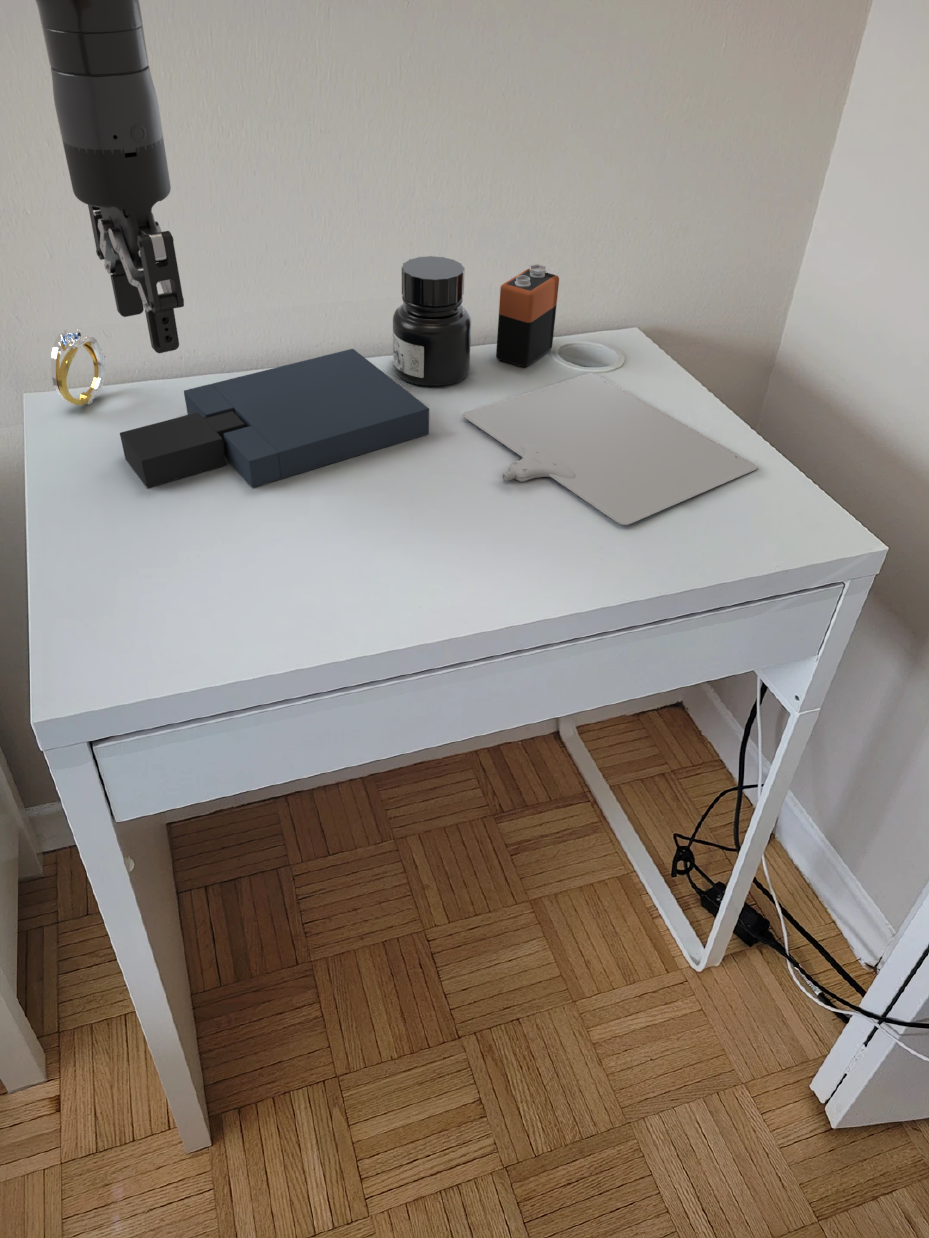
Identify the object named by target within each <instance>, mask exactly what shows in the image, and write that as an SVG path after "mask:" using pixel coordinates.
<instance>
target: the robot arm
mask: <svg viewBox="0 0 929 1238" xmlns="http://www.w3.org/2000/svg"><path fill="white" fill-rule="evenodd" d="M34 1H35V3H36V6H37V10H38V15H39V20H40V24H41V30H42V35H43V38H44V44H45V48H46V49H45V50H46V53H47V56H48V57H47V58H48V63H49V66H50V73H51V74H50V75H51V81H52V82H51V83H52V95H53V103H54V107H55V108H54V109H55V113H56V118H57V121H58V122H57V123H58V127H59V131H60V135H61V141H62V145H63V151H64V155H65V159H66V164H67V169H68V172H69V179H70V183H71V188H72V192H73V194H74V196H75V198H76V199H77V200H78V201H80V203H81V202H82V203H83V204H85V205H87V208H88V211H89V212H88V214H89V218H90V223H91V229H92V233H93V239H94V243H95V244H94V245H95V248H96V250H95V253H96V255H97V257H98V259H99V260H100V261H103V260H104V264H103V265H104V269H105V270H106V272H107V274H109V276H110V281H111V286H112V291H113V296H114V300H115V306H116V311H117V312H118V313H119V315H120V316H121V317H124V318H128V317H133V316H137V315H142V313H143V312H144V313H145V318H146V319H145V320H146V324H147V330H148V334H149V341H150V344H151V345H150V346H151V348H152V350H153V351H154V352H155V353H157V354H163V353H164V354H165V353H168V352H173V351H176V350H177V349H179V348H180V347H179V346H180V339H179V334H178V326H177V322H176V313H175V309H179V308H184V306H185V299H184V296H183V295H184V294H183V290H182V284H181V283H182V282H181V278H180V271H179V266H178V260H177V254H176V249H175V243H174V236H173V235H172V232H171V231H169V230H165V231H162V229H161V225H160V223H159V222H158V221H157V220H155V217H154V216H155V215H154V214H153V212H152V211H153V208H154V206H155V205H156V204H157V203H158V202H162V201H163V200H165V199H166V198H167V197H168V196H169V195H170V193H171V179H170V174H169V166H168V161H167V152H166V147H165V140H164V132H163V127H162V120H161V114H160V113H161V112H160V106H159V101H158V96H157V92H156V88H155V84H154V82H153V81H154V80H153V78H152V74H151V73H152V72H151V68H150V65H149V57H148V51H147V43H146V37H145V30H144V25H143V17H142V16H143V15H142V9H141V4H140V0H34ZM158 283H159V284H160V286H161V289H162V291H163V293H159V291H158V286H157V285H158Z"/></svg>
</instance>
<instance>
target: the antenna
mask: <svg viewBox="0 0 929 1238" xmlns="http://www.w3.org/2000/svg"><path fill="white" fill-rule="evenodd" d="M462 417H463V418H464V419H466V420H467V421H468V422H470V423H472V424H473V425H474V426H475V427H477V428H479V429H480V430H482V431H483V432H485V433H486V434H487V435H489V436H490V437H492V438H493V439H494V440H496V441H498V442H499V443H501V444H502V445H504V446H505V447H507V448H508V449H510V451H512V452H514V454H517V455H518V456H520V457H521V459H520V460H517V461H515V462H512V463H510V464H509V466H508V467H507V468H508V471H505V472H503V473H502V479H503V481H505V482H507V481H511V480H513V479H514V480H516V481H519V482H521V483H523V482H527V481H529V480H532V479H538V478H552V479H553V480H554V481H556V482H557V483H559V484H560V485H562V486H563V487H564V488H566V489H567V490H569V491H570V492H572V493H573V494H575V495H576V496H578V497H579V498H580V499H582V500H583V501H585V502H586V503H588V504H589V505H591V506H593V508H595V509H596V510H598V511H600V512H601V513H602V514H604V515H605V516H607V517H608V518H610V519H611V520H613V522H615V523H617V524H619V525H621V526H629V525H632V524H634V523H636V522H639V521H640V520H644V519H646V518H648V517H650V516H652V515H654V514H657V513H659V512H662V511H664V510H667V509H669V508H671V507H673V506H676V505H677V504H681V503H682V502H685V501H687V500H689V499H692V498H694V497H696V496H698V495H700V494H701V495H702V494H704V493H705V492H708V491H711V490H713V489H715V488H717V487H720V486H721V485H724V484H727V483H729V482H731V481H733V480H736V479H738V478H740V477H743V476H746V475H747V474H749V473H752V472H753V471H756V470H757V469H758V466H757V465H756V464H755V463H754V462H752V461H750V460H749V459H747V458H745V457H743V456H742V455H740V454H737V453H736V452H734V451H733V450H731V449H729V448H727V447H725V446H724V445H722V444H721V443H718V442H717V441H715V440H713V439H711V438H709V437H708V436H706V435H704V434H703V433H700V432H699V431H698V430H696V429H694V428H693V427H690V426H688V425H687V424H685V423H683V422H682V421H680V420H678V419H676V418H674V416H673V417H672V416H671V415H669V414H667V413H666V412H664V411H662V410H660V409H658V408H657V407H655V406H653V405H651V404H649V403H648V402H646V401H645V400H642V399H641V398H639V397H637V396H636V395H634V394H632V393H630V392H628V391H627V390H625V389H623V388H622V387H619V386H618V385H616V384H615V383H612V382H611V381H609V380H607V379H605V377H603V376H600V375H599V374H596V373H594V372H593V373H592V372H590V373H589V372H588V373H585V374H581V375H578V376H576V377H572V378H569V379H566V380H563V381H559V382H556V383H553V384H550V385H546V386H544V387H540V388H537V389H534V390H531V391H528V392H524V393H521V394H518V395H514V396H512V397H508V398H504V399H502V400H498V401H496V402H495V401H494V402H491V403H489V404H486V405H483V406H479V407H476V408H473V409H470V410H469V409H468V410H467V411H464V412H463V413H462Z"/></svg>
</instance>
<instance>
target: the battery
mask: <svg viewBox="0 0 929 1238" xmlns="http://www.w3.org/2000/svg"><path fill="white" fill-rule="evenodd" d="M559 285H560V277H559V276H558V275H556V274H554V273H549V272H547V266H546V265H543V264H539V263H537V264H532V265H529V268H527V269H525V270H523V271H522V272H520V273H518V274H517V275H515V276H514V277H512V278H510V279H508V280H507V281H505V282H504V283H503V284H501V285H500V288H499V289H500V290H499V302H498V303H499V304H498V305H499V306H498V320H497V321H498V322H497V334H496V335H497V336H496V352H495V356H496V359H497V360H500V361H502V362H506V363H508V364H512V365H515V366H517V367H518V366H519V367H522V368H527V367H528V366H530V365H531V364H532V363H534V362H535V361H537V360H538V359H539V358H541V357H542V356H543V355H545V354H547V353H548V352H549V351H550V350H551V349H552V348H553V342H554V334H555V333H554V332H555V323H556V314H557V313H556V312H557V306H558V305H557V303H558V295H559Z"/></svg>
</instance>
